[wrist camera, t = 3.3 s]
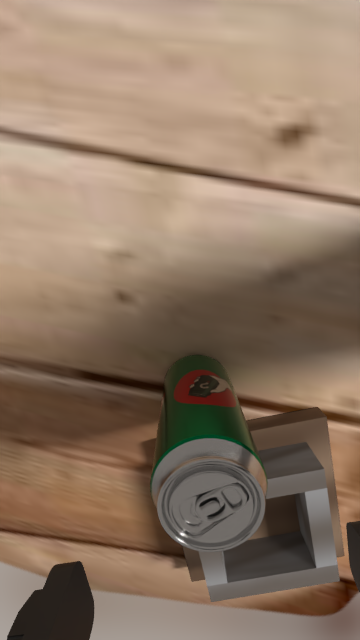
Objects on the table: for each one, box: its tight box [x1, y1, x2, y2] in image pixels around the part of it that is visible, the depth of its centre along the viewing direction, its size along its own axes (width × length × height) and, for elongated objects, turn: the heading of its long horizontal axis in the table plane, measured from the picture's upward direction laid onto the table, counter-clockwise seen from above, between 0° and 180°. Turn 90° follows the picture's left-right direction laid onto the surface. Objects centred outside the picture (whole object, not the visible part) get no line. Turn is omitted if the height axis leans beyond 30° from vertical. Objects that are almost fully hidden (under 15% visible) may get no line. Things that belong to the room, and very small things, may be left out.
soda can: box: [150, 355, 268, 552], centre depth 18 cm, size 5×5×12 cm
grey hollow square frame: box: [182, 407, 344, 602], centre depth 23 cm, size 13×13×4 cm
